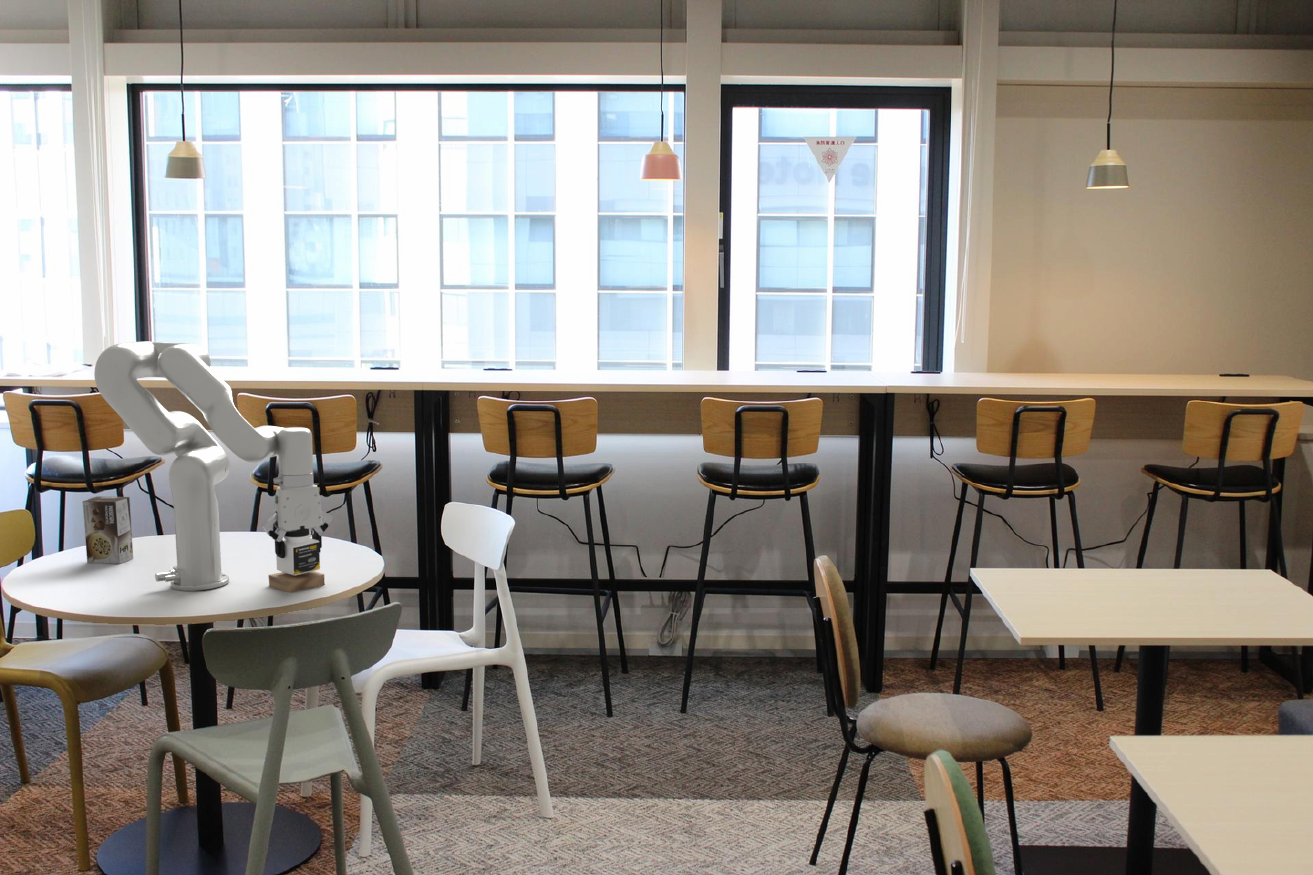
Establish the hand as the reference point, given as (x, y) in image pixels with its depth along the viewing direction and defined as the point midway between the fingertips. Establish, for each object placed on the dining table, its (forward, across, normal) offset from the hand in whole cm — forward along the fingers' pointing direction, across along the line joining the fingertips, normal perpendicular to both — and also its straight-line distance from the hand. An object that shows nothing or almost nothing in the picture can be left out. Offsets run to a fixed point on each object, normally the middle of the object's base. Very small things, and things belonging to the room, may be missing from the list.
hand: (298, 553), depth 253 cm
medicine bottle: (+4, 0, 0) cm, 4 cm away
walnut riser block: (+8, -1, 0) cm, 8 cm away
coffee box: (+8, -28, +52) cm, 59 cm away
